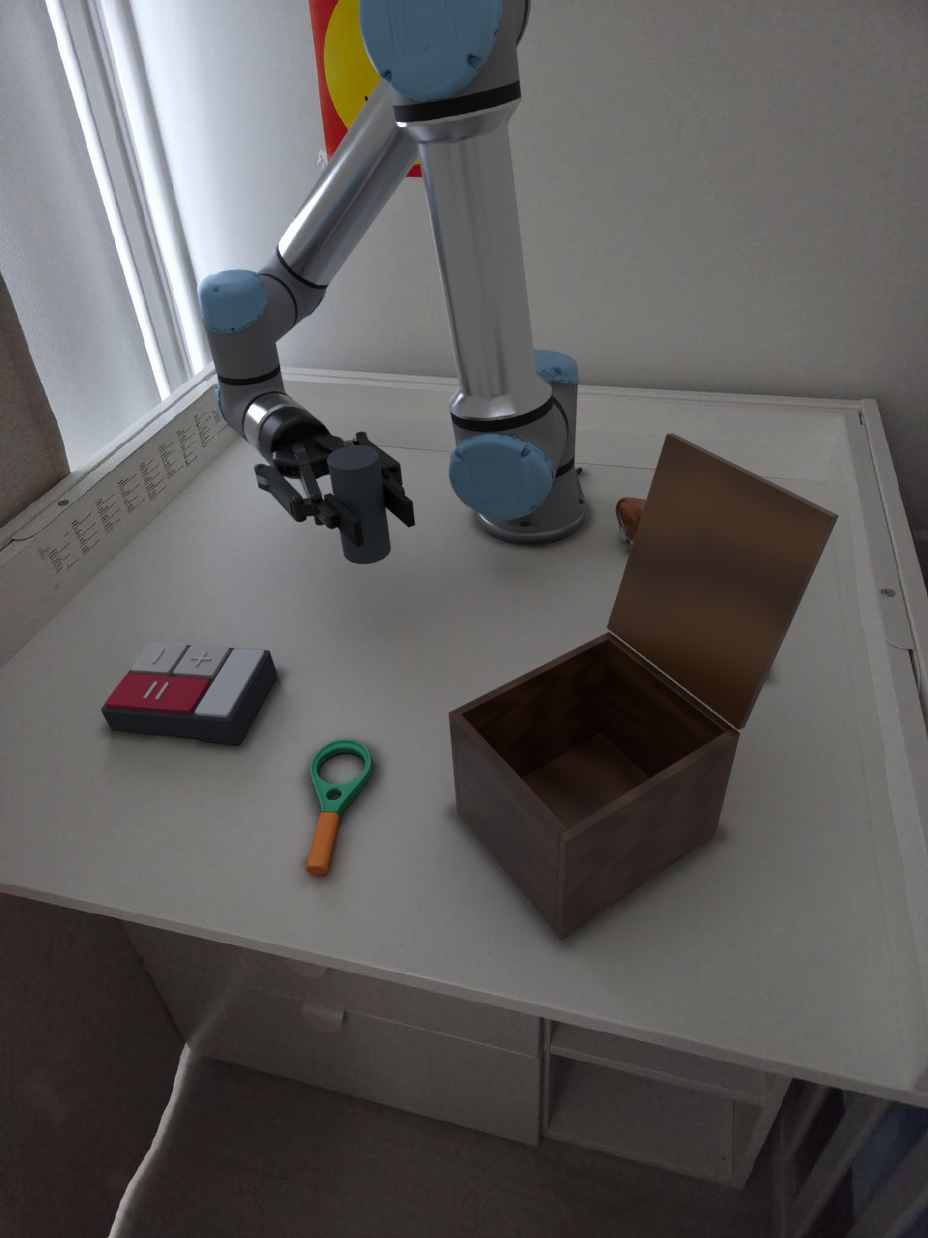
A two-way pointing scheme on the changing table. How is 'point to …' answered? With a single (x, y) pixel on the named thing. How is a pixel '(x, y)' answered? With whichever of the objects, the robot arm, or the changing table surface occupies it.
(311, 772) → the magnifying glass
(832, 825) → the changing table surface
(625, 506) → the bull figurine
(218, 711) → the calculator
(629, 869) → the chest
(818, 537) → the chest lid
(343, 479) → the canister
